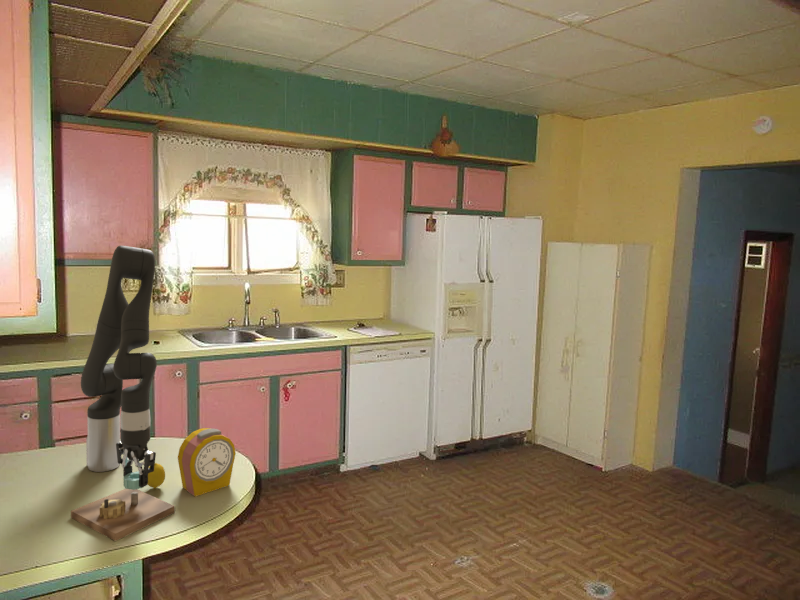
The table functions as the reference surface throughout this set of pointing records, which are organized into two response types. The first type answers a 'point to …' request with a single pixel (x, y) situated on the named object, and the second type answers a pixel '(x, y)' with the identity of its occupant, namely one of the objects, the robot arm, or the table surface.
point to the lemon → (156, 476)
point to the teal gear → (132, 481)
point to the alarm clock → (206, 461)
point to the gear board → (122, 513)
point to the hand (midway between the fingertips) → (135, 482)
